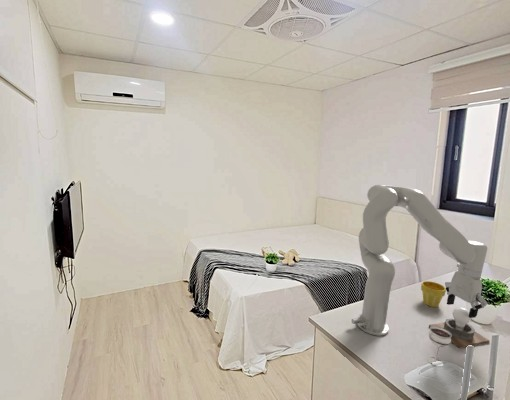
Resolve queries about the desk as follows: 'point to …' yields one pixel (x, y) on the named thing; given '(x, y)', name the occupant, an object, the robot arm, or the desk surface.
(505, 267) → the desk surface
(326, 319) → the desk surface
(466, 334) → the bulb holder
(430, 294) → the plant pot
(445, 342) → the wineglass
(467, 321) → the lightbulb
